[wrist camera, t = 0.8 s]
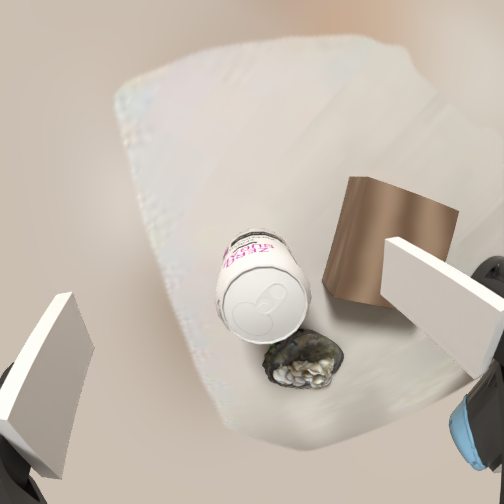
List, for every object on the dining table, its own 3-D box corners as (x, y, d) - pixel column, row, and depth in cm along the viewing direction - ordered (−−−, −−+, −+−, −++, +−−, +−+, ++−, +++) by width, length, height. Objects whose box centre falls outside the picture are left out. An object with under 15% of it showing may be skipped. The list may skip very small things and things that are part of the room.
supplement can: (261, 301, 41) (271, 365, 26) (211, 263, 39) (193, 313, 25) (302, 254, 39) (334, 298, 25) (251, 213, 38) (256, 235, 23)
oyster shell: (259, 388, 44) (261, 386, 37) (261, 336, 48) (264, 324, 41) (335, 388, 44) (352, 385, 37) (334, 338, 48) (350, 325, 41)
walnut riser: (434, 206, 38) (458, 211, 32) (406, 297, 41) (426, 314, 35) (349, 176, 37) (367, 176, 31) (321, 280, 40) (334, 297, 34)
